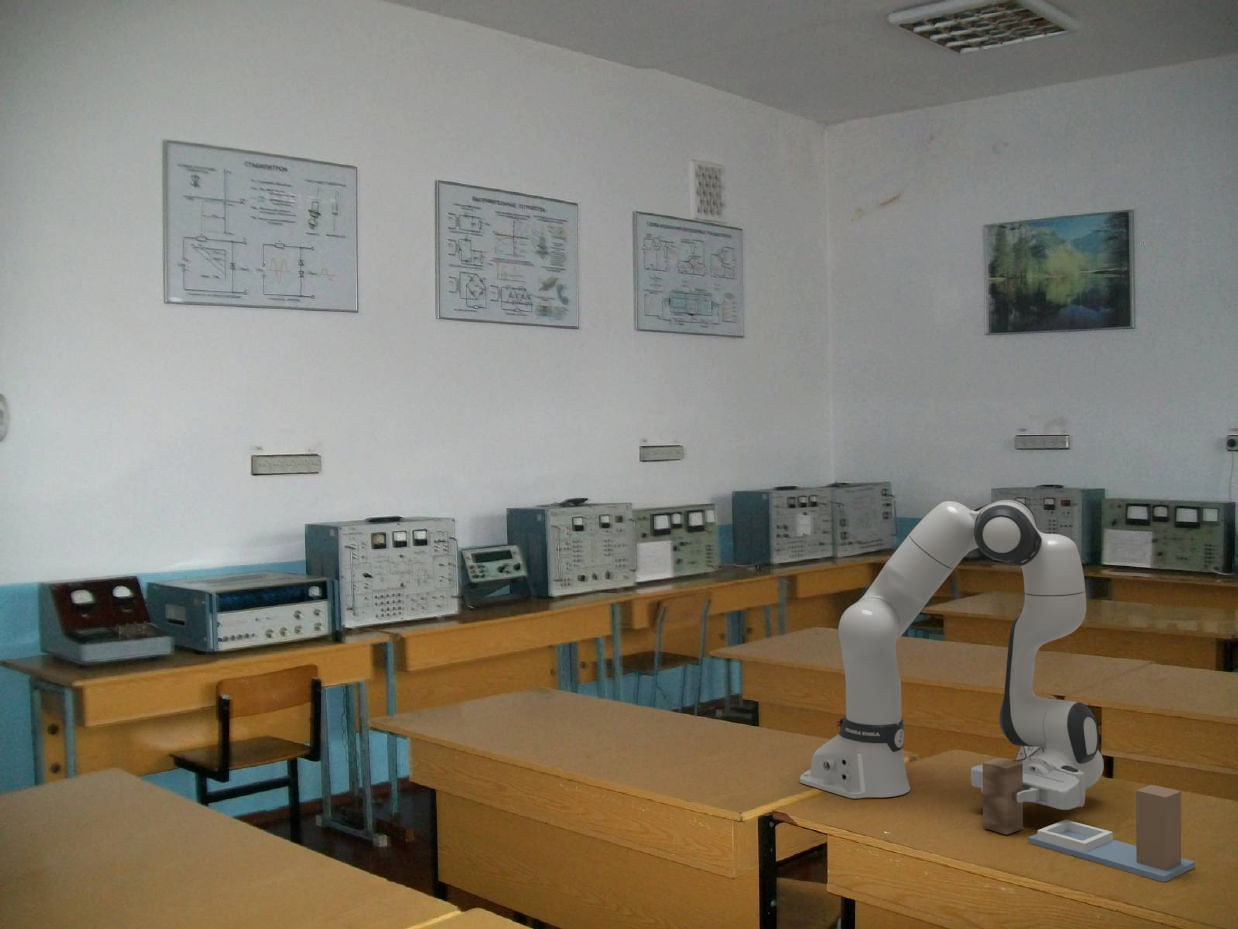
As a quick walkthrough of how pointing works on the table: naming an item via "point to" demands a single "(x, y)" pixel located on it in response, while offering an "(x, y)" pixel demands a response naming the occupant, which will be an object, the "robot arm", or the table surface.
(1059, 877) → the table surface
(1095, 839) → the baseplate
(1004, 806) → the pillar
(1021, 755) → the game die
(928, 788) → the table surface
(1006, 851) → the table surface
